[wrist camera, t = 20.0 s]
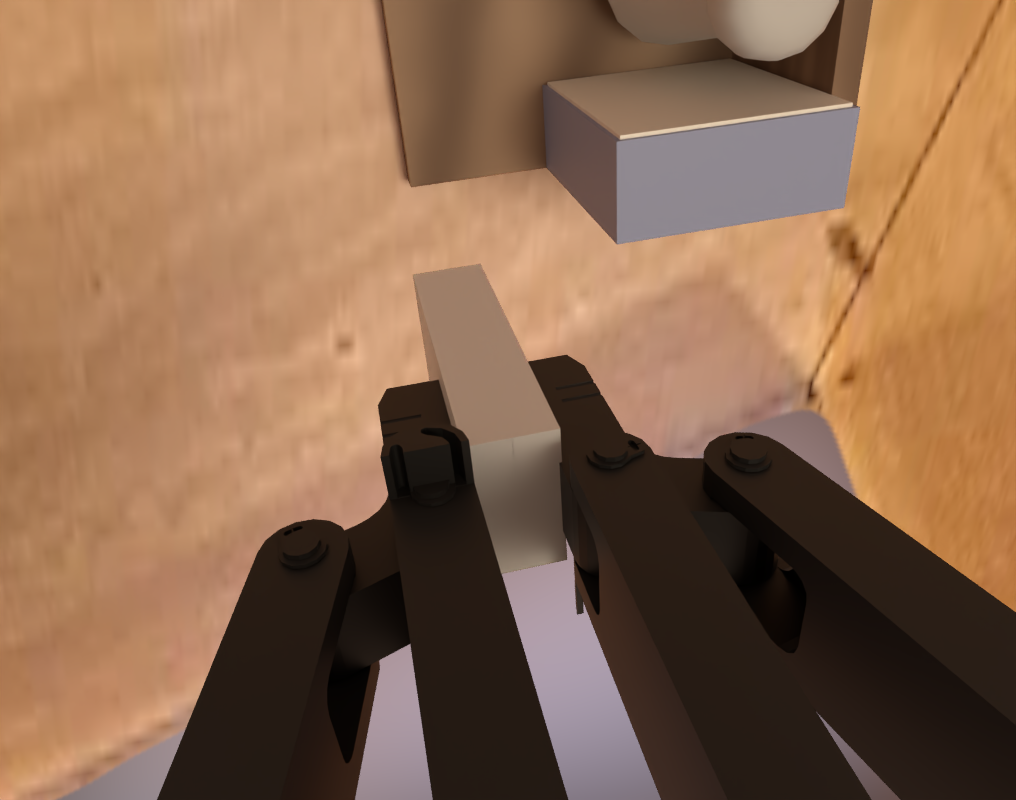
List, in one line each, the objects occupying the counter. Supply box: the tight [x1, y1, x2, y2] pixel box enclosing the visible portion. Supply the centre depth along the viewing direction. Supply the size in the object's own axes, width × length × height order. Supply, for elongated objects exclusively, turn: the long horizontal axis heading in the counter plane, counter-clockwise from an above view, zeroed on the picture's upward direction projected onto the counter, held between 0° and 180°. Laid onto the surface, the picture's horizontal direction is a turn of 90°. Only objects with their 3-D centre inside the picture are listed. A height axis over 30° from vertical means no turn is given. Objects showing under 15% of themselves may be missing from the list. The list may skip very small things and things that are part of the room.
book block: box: [542, 58, 860, 244], centre depth 35 cm, size 10×4×11 cm, turn 95°
